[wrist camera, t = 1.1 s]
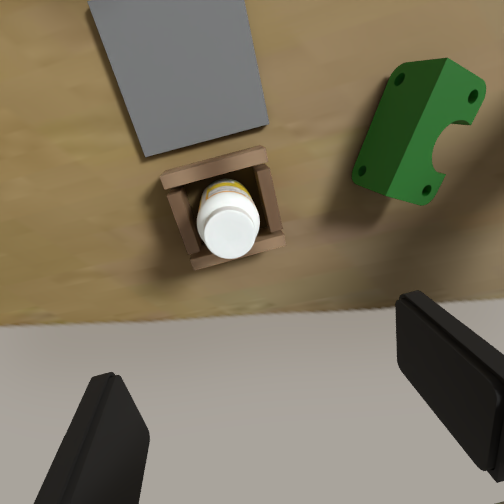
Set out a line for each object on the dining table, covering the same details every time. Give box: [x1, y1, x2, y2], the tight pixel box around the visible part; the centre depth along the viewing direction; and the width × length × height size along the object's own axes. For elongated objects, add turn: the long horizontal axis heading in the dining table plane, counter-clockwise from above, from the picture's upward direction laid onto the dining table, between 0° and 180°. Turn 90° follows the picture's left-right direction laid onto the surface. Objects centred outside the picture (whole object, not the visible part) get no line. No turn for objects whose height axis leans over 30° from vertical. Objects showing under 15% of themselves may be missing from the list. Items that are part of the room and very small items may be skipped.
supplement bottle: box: [197, 179, 260, 259], centre depth 28 cm, size 5×5×10 cm
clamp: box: [352, 58, 486, 205], centre depth 29 cm, size 12×6×9 cm, turn 158°
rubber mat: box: [87, 0, 269, 157], centre depth 27 cm, size 12×12×1 cm
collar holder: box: [160, 145, 286, 271], centre depth 31 cm, size 10×10×4 cm
